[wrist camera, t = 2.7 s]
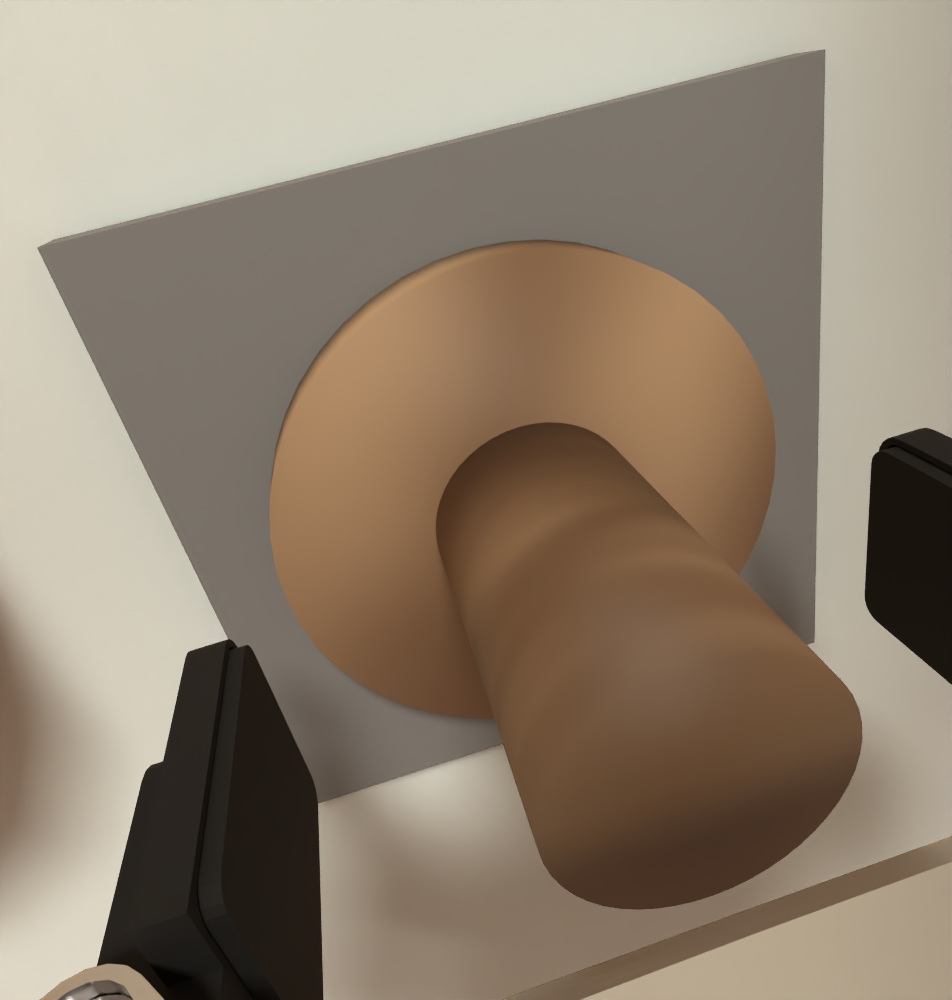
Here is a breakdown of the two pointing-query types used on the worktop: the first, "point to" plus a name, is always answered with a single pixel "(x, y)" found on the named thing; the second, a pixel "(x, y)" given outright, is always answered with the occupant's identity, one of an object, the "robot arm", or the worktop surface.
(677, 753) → the lid
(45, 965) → the worktop surface
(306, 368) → the mat
